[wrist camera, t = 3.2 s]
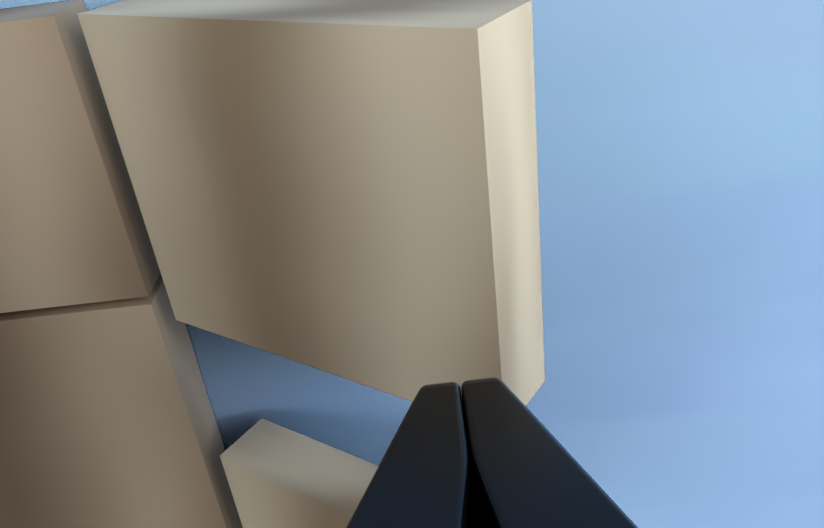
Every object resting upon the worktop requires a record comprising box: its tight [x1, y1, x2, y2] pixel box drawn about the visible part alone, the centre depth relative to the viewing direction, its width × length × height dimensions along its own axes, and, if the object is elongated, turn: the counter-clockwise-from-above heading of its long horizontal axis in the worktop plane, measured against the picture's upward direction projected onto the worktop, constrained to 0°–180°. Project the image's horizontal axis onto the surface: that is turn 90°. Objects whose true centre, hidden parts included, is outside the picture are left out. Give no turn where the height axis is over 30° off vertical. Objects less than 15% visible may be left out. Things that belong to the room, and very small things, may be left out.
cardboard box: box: [0, 0, 243, 528], centre depth 19 cm, size 9×17×2 cm, turn 7°
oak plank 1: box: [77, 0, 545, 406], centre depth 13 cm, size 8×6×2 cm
